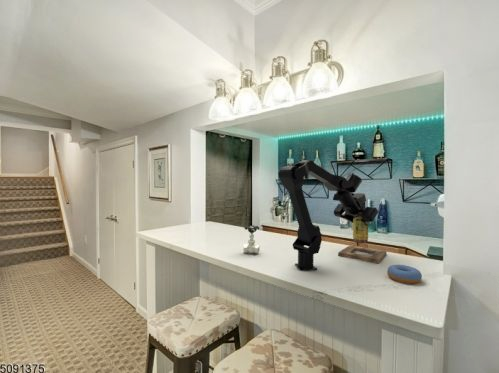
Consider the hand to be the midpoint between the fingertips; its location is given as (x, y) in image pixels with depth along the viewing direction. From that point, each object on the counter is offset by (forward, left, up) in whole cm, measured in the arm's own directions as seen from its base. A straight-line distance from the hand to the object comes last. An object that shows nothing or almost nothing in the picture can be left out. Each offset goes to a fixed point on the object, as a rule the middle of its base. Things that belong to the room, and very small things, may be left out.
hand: (362, 224), depth 114 cm
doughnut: (-28, +3, -14) cm, 32 cm away
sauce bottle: (0, +1, -8) cm, 8 cm away
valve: (+7, +49, -13) cm, 51 cm away
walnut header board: (-2, +1, -13) cm, 13 cm away
